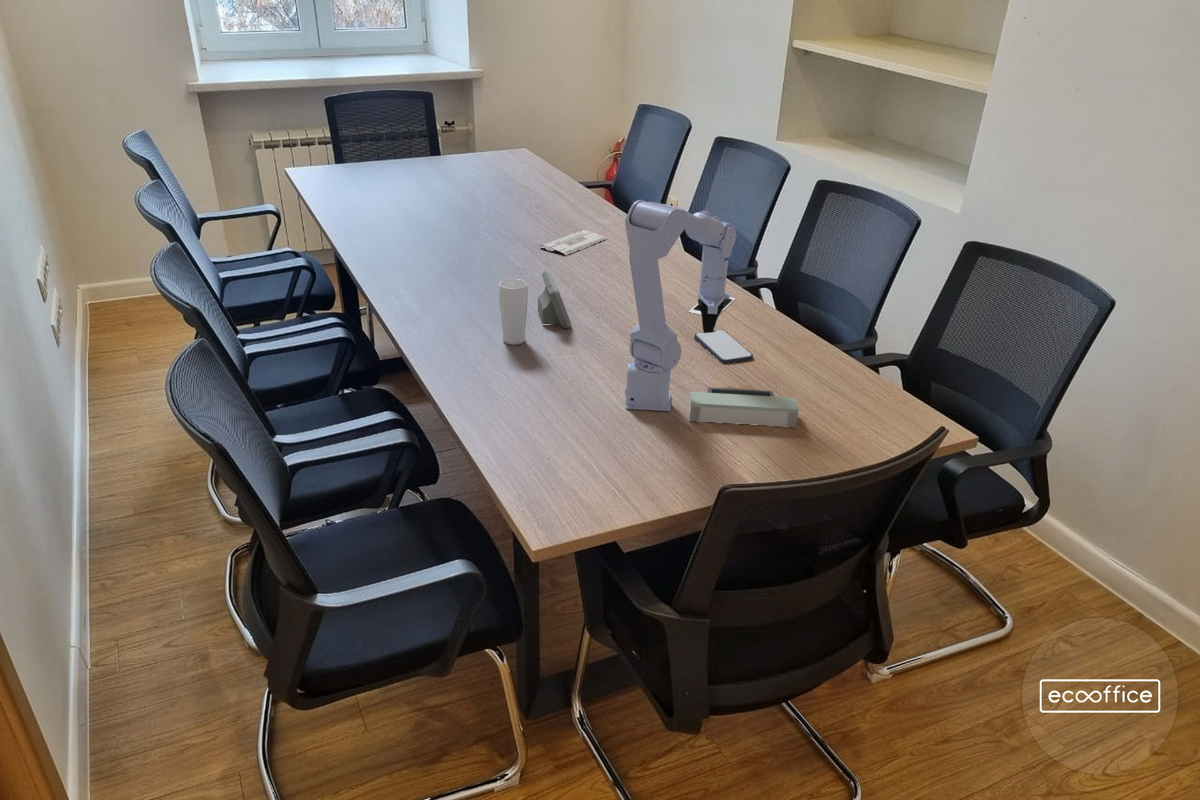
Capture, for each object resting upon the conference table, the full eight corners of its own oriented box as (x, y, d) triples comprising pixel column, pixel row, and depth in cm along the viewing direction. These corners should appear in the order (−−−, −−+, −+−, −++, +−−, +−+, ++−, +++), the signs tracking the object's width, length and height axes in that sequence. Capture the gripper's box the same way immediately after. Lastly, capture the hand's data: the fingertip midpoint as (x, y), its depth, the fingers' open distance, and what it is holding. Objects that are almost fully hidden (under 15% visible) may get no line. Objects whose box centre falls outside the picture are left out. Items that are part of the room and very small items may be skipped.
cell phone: (688, 313, 233) (688, 311, 233) (709, 294, 246) (709, 292, 246) (715, 319, 230) (715, 317, 230) (735, 300, 243) (736, 298, 242)
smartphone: (754, 362, 209) (722, 334, 222) (755, 356, 208) (723, 328, 221) (722, 367, 206) (691, 338, 219) (722, 361, 205) (692, 332, 218)
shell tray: (708, 415, 184) (709, 405, 183) (706, 397, 191) (708, 387, 190) (775, 419, 183) (776, 408, 182) (771, 401, 190) (772, 391, 189)
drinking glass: (516, 333, 218) (515, 276, 210) (533, 341, 213) (533, 284, 206) (494, 340, 213) (492, 282, 206) (512, 349, 209) (511, 291, 202)
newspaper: (577, 233, 291) (578, 226, 290) (606, 245, 285) (607, 237, 284) (533, 249, 275) (533, 242, 274) (563, 262, 269) (563, 254, 268)
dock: (689, 421, 182) (691, 403, 179) (688, 406, 187) (690, 388, 185) (795, 427, 181) (798, 409, 179) (791, 412, 186) (794, 394, 184)
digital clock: (570, 331, 220) (571, 291, 215) (534, 330, 220) (534, 290, 215) (572, 306, 234) (573, 269, 229) (539, 305, 234) (539, 267, 229)
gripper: (734, 287, 185) (727, 345, 192) (729, 264, 198) (723, 319, 204) (700, 285, 185) (695, 343, 192) (698, 262, 198) (693, 317, 205)
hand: (707, 331), depth 198 cm, fingers closed
